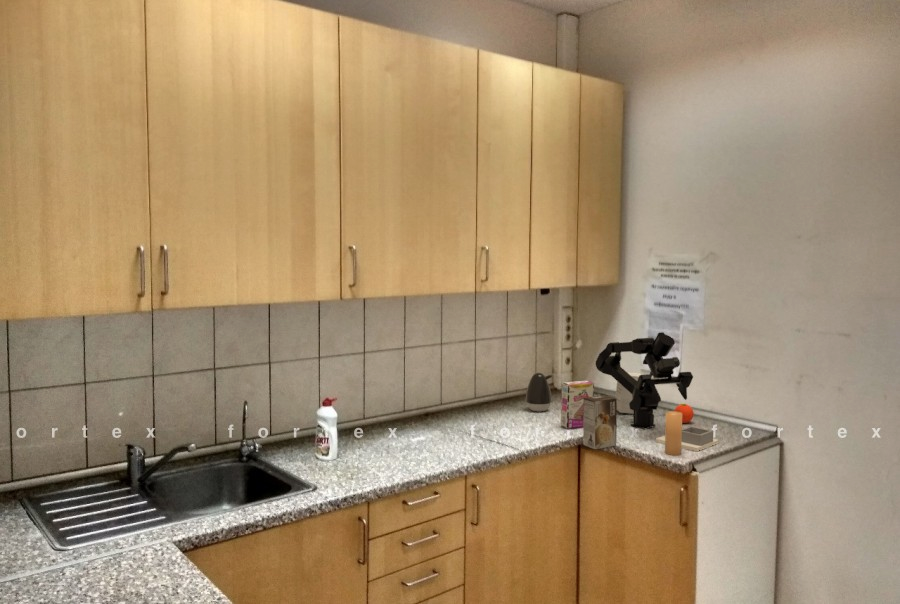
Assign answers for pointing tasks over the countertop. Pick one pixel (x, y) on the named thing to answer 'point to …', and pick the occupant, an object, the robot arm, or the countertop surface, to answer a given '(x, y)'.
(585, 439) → the coffee box
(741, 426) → the countertop surface
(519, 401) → the countertop surface
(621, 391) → the supplement box
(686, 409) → the clementine
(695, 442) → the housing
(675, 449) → the orange rounded part
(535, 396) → the pump dispenser
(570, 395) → the candy bar box
